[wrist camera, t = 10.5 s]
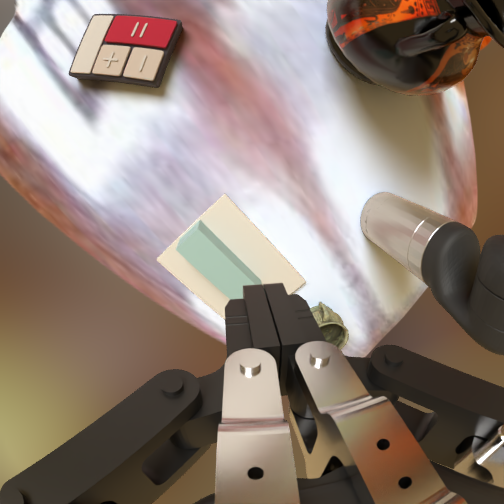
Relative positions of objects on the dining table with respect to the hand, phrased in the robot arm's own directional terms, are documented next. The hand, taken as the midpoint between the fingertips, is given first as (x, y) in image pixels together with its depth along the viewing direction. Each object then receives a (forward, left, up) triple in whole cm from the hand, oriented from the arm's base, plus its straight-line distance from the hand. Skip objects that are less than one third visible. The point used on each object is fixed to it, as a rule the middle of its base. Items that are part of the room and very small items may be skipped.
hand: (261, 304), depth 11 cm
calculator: (+15, -23, -33) cm, 43 cm away
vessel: (-15, +27, -32) cm, 44 cm away
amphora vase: (-23, -25, -32) cm, 47 cm away
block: (-2, +17, -29) cm, 34 cm away
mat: (0, +14, -32) cm, 35 cm away
